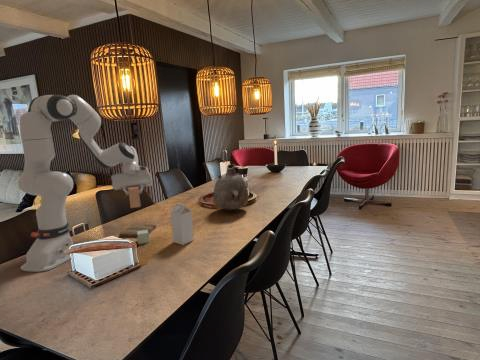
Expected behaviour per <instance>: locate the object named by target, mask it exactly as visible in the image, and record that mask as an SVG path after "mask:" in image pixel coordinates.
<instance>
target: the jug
mask: <svg viewBox="0 0 480 360" xmlns="http://www.w3.org/2000/svg"><path fill="white" fill-rule="evenodd" d="M213 200H214V201H213V202H214V204H215V205H214V206H215V207H217V208H220V209H225V210H228V211H230V212H231V211H232V212H234V211H235V210H237V209H240V208H243V207H244V206H246V205H247V204H248V202H249V190H248V186H247V183H246V181H245V179H244V178H243V177H242V176H241V175H239V174H237V172H236V165H235V163H231V164H227V167H226V173H224V174H218V176H217V179H216V182H215V183H214V189H213Z"/></svg>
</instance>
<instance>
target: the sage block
mask: <svg viewBox="0 0 480 360" xmlns="http://www.w3.org/2000/svg"><path fill="white" fill-rule="evenodd" d="M137 235H138V237H137V241H138V245H143V244H147V243H150V237H149V234H148V230H142V231H137Z"/></svg>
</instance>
